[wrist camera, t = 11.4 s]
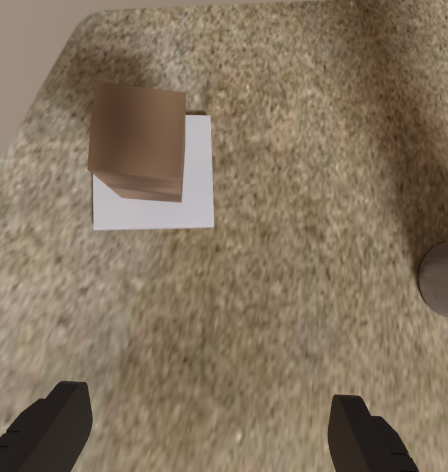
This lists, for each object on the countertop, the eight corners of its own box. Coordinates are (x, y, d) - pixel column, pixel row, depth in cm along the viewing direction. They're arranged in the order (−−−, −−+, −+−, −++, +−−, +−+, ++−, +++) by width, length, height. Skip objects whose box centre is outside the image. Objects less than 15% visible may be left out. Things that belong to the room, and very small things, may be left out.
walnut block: (185, 146, 29) (185, 93, 19) (181, 202, 29) (179, 177, 19) (126, 140, 28) (95, 80, 18) (121, 198, 28) (87, 169, 18)
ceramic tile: (209, 120, 31) (210, 115, 30) (213, 227, 30) (214, 227, 29) (95, 116, 29) (92, 111, 28) (96, 230, 28) (93, 229, 27)
